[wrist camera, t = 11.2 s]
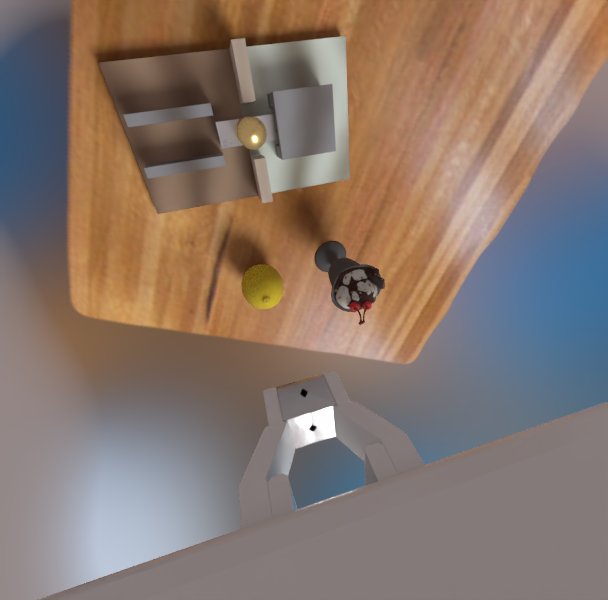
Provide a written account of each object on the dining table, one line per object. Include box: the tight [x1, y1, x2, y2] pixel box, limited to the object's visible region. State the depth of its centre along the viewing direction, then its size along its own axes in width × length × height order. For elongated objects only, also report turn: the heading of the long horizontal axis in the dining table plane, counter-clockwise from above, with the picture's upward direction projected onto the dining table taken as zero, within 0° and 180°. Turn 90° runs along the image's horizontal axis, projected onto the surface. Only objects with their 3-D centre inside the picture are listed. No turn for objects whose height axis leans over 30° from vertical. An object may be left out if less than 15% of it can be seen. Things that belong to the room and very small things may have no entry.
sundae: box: [315, 242, 385, 325], centre depth 38 cm, size 7×7×15 cm
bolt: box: [215, 114, 278, 150], centre depth 30 cm, size 12×3×7 cm, turn 97°
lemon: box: [242, 264, 283, 309], centre depth 40 cm, size 6×6×8 cm
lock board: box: [99, 36, 350, 214], centre depth 31 cm, size 24×14×5 cm, turn 97°
